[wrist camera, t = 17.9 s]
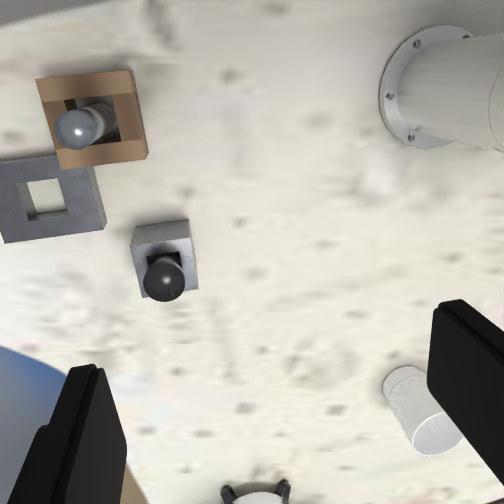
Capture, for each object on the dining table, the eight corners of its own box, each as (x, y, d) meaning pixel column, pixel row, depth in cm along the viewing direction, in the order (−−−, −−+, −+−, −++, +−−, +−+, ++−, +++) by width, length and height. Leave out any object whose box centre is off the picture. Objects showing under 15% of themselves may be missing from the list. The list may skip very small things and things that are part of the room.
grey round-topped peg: (113, 101, 41) (88, 109, 30) (119, 130, 42) (97, 147, 31) (84, 104, 41) (49, 113, 30) (91, 133, 42) (60, 152, 31)
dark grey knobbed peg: (181, 229, 47) (181, 261, 38) (187, 261, 48) (188, 298, 40) (146, 235, 46) (139, 268, 38) (153, 266, 48) (147, 304, 40)
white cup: (410, 406, 65) (448, 460, 56) (369, 398, 62) (401, 452, 53) (435, 367, 62) (479, 417, 53) (393, 357, 60) (431, 406, 51)
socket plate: (88, 150, 42) (83, 153, 40) (107, 222, 45) (103, 229, 43) (-13, 162, 41) (-24, 167, 39) (13, 235, 44) (4, 243, 42)
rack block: (132, 70, 40) (127, 69, 36) (148, 152, 43) (145, 159, 40) (48, 79, 39) (35, 79, 36) (71, 162, 42) (61, 169, 39)
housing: (188, 219, 47) (189, 237, 41) (196, 265, 49) (198, 288, 44) (136, 226, 46) (130, 246, 41) (146, 273, 49) (142, 297, 43)
